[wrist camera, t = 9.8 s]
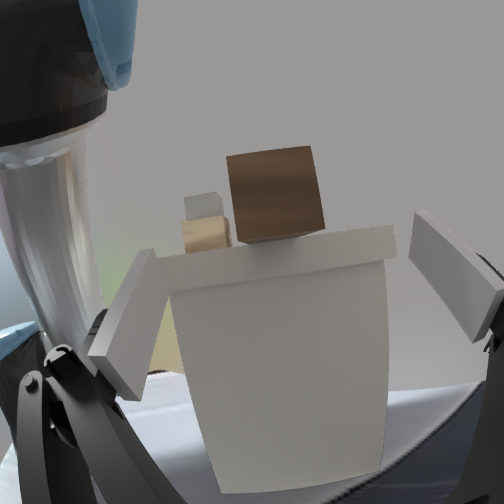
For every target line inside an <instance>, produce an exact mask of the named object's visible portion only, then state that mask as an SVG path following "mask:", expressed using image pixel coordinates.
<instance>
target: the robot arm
mask: <svg viewBox="0 0 504 504" xmlns="http://www.w3.org/2000/svg"><path fill="white" fill-rule="evenodd" d="M137 7H138V0H0V229H1V232H2V235H3V238H4V241H5V244H6V247H7V250H8V252H9V255H10V258H11V260H12V263H13V266H14V268H15V271H16V273H17V275H18V278H19V280H20V282H21V285H22V287H23V289H24V291H25V294H26V296H27V298H28V300H29V302H30V304H31V306H32V308H33V310H34V312H35V314H36V316H37V318H38V320H39V321H40V323H41V325H42V327H43V329H44V330H43V331H40V330H39V326H38V325H37V323H36V322H35V321H32V322H26V323H22V324H18V325H16V326H12V327H9V328H6V329H4V330H1V331H0V407H1V410H2V412H3V414H4V416H5V418H6V420H7V422H8V425H9V427H10V431H11V436H12V440H13V445H14V449H15V453H16V456H17V459H18V473H19V483H20V491H21V498H22V504H97V501H96V497H95V494H94V490H93V486H92V482H91V478H90V474H89V470H90V472H91V474H92V476H93V478H94V480H95V482H96V484H97V486H98V488H99V490H100V491H101V493H102V495H103V497H104V499H105V500H106V502H107V504H187V503H186V502H185V501H184V499H183V498H182V497H181V496H180V495H179V493H178V492H177V491H176V490H175V488H174V487H173V486H172V485H171V483H170V482H169V481H168V480H167V478H166V477H165V476H164V474H163V473H162V472H161V470H160V469H159V468H158V466H157V465H156V463H155V462H154V461H153V459H152V458H151V456H150V455H149V453H148V452H147V450H146V449H145V447H144V446H143V444H142V443H141V441H140V440H139V438H138V437H137V435H136V433H135V432H134V430H133V429H132V427H131V425H130V424H129V422H128V420H127V419H126V417H125V415H124V413H123V412H122V410H121V408H120V406H119V404H118V403H117V402H116V401H115V397H116V396H121V397H122V399H123V400H127V401H141V399H142V395H143V390H144V386H145V382H146V378H147V374H148V369H149V366H150V362H151V357H152V353H153V350H154V346H155V342H156V339H157V335H158V331H159V328H160V324H161V321H162V317H163V314H164V310H165V307H166V303H167V300H168V297H169V294H170V292H169V289H168V287H167V284H166V282H165V279H164V276H163V274H162V271H161V268H160V266H159V263H158V260H157V257H156V254H155V252H154V249H153V248H152V249H145V250H140V251H139V252H138V254H137V256H136V258H135V259H134V261H133V263H132V265H131V267H130V269H129V271H128V272H127V274H126V276H125V278H124V280H123V281H122V284H121V285H120V287H119V289H118V291H117V293H116V295H115V297H114V299H113V301H112V303H111V305H110V307H109V309H108V308H106V307H105V305H104V301H103V296H102V291H101V286H100V282H99V277H98V271H97V266H96V260H95V254H94V247H93V240H92V233H91V225H90V216H89V206H88V194H87V178H86V151H85V150H86V149H85V148H86V145H85V144H86V143H85V142H86V135H87V133H88V132H89V131H90V130H91V129H92V128H93V127H94V126H95V125H96V124H97V123H98V122H99V121H100V120H101V119H102V118H103V117H104V115H105V113H106V105H107V94H108V90H110V91H117V90H118V89H120V88H122V87H125V86H127V85H128V83H129V81H130V77H131V65H132V54H133V49H134V40H135V29H136V18H137ZM409 259H410V260H411V261H412V262H413V264H414V265H415V266H416V267H417V268H418V270H419V271H420V272H421V273H422V275H423V276H424V277H425V278H426V280H427V281H428V282H429V283H430V285H431V286H432V287H433V289H434V290H435V291H436V293H437V294H438V295H439V296H440V298H441V299H442V301H443V302H444V303H445V305H446V306H447V307H448V309H449V310H450V312H451V313H452V314H453V316H454V317H455V319H456V320H457V321H458V323H459V324H460V326H461V327H462V329H463V330H464V332H465V333H466V335H467V336H468V338H469V339H470V341H471V342H472V343H474V342H477V341H479V340H481V339H483V338H484V337H485V336H486V333H487V332H488V330H489V328H490V329H491V330H492V332H493V334H492V335H491V337H490V339H489V341H488V343H487V345H486V346H485V348H484V352H486V350H487V348H488V347H489V346H490V349H489V352H488V353H489V361H488V369H487V377H486V384H485V390H484V396H483V401H482V406H481V411H480V416H479V420H478V424H477V429H476V432H475V436H474V440H473V443H472V447H471V450H470V453H469V456H468V460H467V463H466V465H465V468H464V471H463V474H462V477H461V479H460V481H459V483H458V485H457V487H456V488H455V489H454V490H453V491H452V492H451V494H450V495H449V497H448V498H447V500H446V502H445V503H444V504H504V277H503V276H502V275H501V274H500V273H499V272H498V271H496V269H495V268H494V267H493V266H492V265H491V264H490V263H489V262H488V261H487V260H486V259H485V258H484V257H482V256H481V255H479V254H477V253H475V252H474V251H473V250H472V249H470V248H469V247H468V246H467V245H466V244H465V243H464V242H463V241H462V240H461V239H459V238H458V237H457V236H456V235H455V234H454V233H452V232H451V231H450V230H449V229H448V228H447V227H446V226H444V225H443V224H442V223H441V222H440V221H438V220H437V219H436V218H435V217H434V216H432V215H431V214H430V213H429V212H427V211H416V212H414V222H413V229H412V237H411V244H410V250H409ZM88 468H89V470H88Z"/></svg>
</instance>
